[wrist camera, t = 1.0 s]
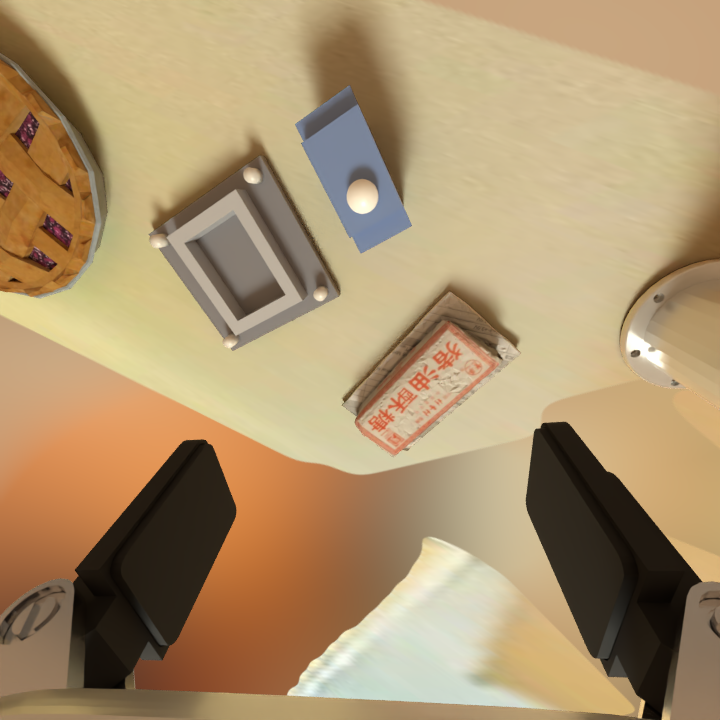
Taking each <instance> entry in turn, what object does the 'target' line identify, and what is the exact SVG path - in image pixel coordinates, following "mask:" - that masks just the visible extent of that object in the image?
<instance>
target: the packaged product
mask: <svg viewBox="0 0 720 720" xmlns="http://www.w3.org/2000/svg"><path fill="white" fill-rule="evenodd" d="M520 354H521V352H520V351H519V350H518V349H517V348H516V347H515V346H514V345H513V344H512V343H511V342H510V341H509V340H508V339H506V338H505V337H504V336H503V335H501V334H500V333H499V332H497V331H496V330H495V329H494V328H493V327H492V326H491V325H490V324H489V323H488V322H487V321H486V320H485V319H484V318H483V317H481V316H480V315H479V314H478V313H477V312H476V311H475V310H474V309H473V308H471V307H470V306H469V305H468V304H467V303H466V302H464V301H463V300H461V299H460V298H459V297H457V296H456V295H454V294H453V293H451V292H450V291H449V292H448V293H447V294H446V295H445V296H444V297H443V298H442V299H441V300H440V301H439V302H438V303H437V304H436V305H435V306H434V307H433V308H432V309H431V310H430V311H429V312H428V313H427V314H426V315H425V316H424V317H423V318H422V319H421V320H420V322H419V323H418V324H417V325H416V327H415V328H414V329H413V330H412V331H411V332H410V333H409V334H408V335H407V336H406V337H405V338H404V339H403V340H402V341H401V342H400V343H399V344H398V345H397V346H396V348H395V349H394V350H393V351H392V352H391V353H390V354H388V355H387V356H386V357H385V358H384V359H383V360H382V361H381V363H380V364H379V365H378V366H377V367H376V368H375V370H374V371H373V372H372V374H371V375H370V376H369V377H368V378H366V379H365V380H364V381H363V382H362V383H361V384H360V385H359V386H358V388H357V389H356V390H355V391H354V392H353V393H352V395H351V396H350V397H349V398H348V399H347V401H345V402H344V403H343V404H342V406H343V407H345V408H346V409H347V410H349V411H350V412H351V413H353V414H354V415H355V416H357V417H356V419H355V425H356V427H357V428H358V429H359V430H360V431H361V433H362V435H363V436H366V437H368V438H369V439H370V440H371V441H373V442H375V443H376V444H377V446H379V447H380V448H381V449H382V450H385V451H386V452H387V453H389V454H390V455H391V456H392V457H395V456H396V455H397V454H398V453H399V452H400V451H401V450H409V449H410V447H411V446H412V445H414V444H415V443H416V442H417V441H418V440H420V439H421V438H422V437H423V436H424V435H426V434H427V433H428V432H429V431H430V430H431V429H433V428H434V427H435V426H436V425H437V424H439V423H440V422H441V421H442V420H443V419H444V418H445V417H446V416H448V415H449V414H451V413H452V412H453V411H454V410H455V409H456V408H457V407H458V406H460V405H461V404H462V403H463V402H464V401H466V400H467V399H468V398H469V397H470V396H471V395H473V394H474V393H475V392H476V391H477V390H478V389H479V388H481V387H482V386H483V385H485V384H486V383H487V382H488V381H489V380H491V379H492V378H493V377H494V376H495V375H496V374H498V373H499V372H500V371H501V370H502V369H503V368H505V367H506V366H507V365H508V364H509V363H510V362H511V361H513V360H514V359H515V358H516V357H518V356H519V355H520Z"/></svg>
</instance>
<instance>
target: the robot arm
mask: <svg viewBox="0 0 720 720" xmlns="http://www.w3.org/2000/svg"><path fill="white" fill-rule="evenodd" d="M620 348H621V353H622V356H623V358H624V360H625V363H626V364H627V366H628V367H629V368H630V369H631V370H632V371H633V372H634V373H635V374H637V375H638V376H639V377H640V378H642V379H644V380H645V381H647V382H649V383H651V384H654V385H657V386H660V387H665V388H673V389H678V388H679V389H680V388H687V389H689V390H690V391H692V392H693V393H695V394H696V395H698V396H699V397H701V398H702V399H704V400H705V401H707V402H708V403H710V404H711V405H713V406H714V407H716V408H717V409H719V410H720V259H715V260H706V261H702V262H698V263H694V264H691V265H688V266H686V267H683V268H681V269H678V270H676V271H674V272H672V273H671V274H669V275H667V276H665V277H664V278H662V279H661V280H659V281H658V282H657V283H655V284H654V285H653V286H651V287H650V288H649V289H648V290H647V291H646V292H645V293H644V294H643V295H642V296H641V297H640V298H639V299H638V300H637V302H636V303H635V304H634V306H633V307H632V308H631V310H630V311H629V313H628V315H627V317H626V319H625V321H624V324H623V328H622V331H621V337H620ZM526 507H527V511H528V514H529V516H530V518H531V521H532V523H533V525H534V528H535V530H536V532H537V535H538V537H539V539H540V541H541V544H542V546H543V548H544V550H545V553H546V555H547V557H548V560H549V562H550V564H551V567H552V569H553V571H554V573H555V576H556V578H557V580H558V583H559V585H560V587H561V589H562V592H563V594H564V596H565V599H566V601H567V603H568V606H569V608H570V610H571V612H572V614H573V617H574V619H575V622H576V624H577V626H578V628H579V631H580V633H581V635H582V638H583V640H584V642H585V644H586V646H587V649H588V651H589V652H590V654H591V655H592V656H593V657H594V658H600V660H601V662H602V664H603V667H604V669H605V671H606V673H607V675H608V677H628V679H629V681H630V683H631V685H632V687H633V689H634V691H635V693H636V695H638V696H639V697H640V698H641V703H640V708H639V713H638V718H635V717H628V716H620V715H612V714H598V713H585V712H571V711H558V710H544V709H531V708H516V707H497V706H479V705H460V704H441V703H423V702H404V701H385V700H364V699H344V698H323V697H302V696H280V695H258V694H257V695H256V694H237V693H236V694H235V693H213V692H212V693H211V692H189V691H163V690H141V689H135V682H134V667H135V665H136V663H137V661H138V659H139V658H141V659H142V660H163V658H164V656H165V654H166V652H167V650H168V648H169V646H170V645H172V644H173V643H174V642H175V641H176V640H177V638H178V637H179V635H180V632H181V630H182V628H183V626H184V624H185V621H186V620H187V618H188V616H189V614H190V612H191V610H192V607H193V605H194V603H195V601H196V599H197V597H198V595H199V593H200V591H201V589H202V587H203V584H204V582H205V580H206V578H207V576H208V574H209V572H210V570H211V568H212V566H213V564H214V561H215V559H216V557H217V555H218V553H219V551H220V549H221V547H222V544H223V542H224V541H225V538H226V536H227V534H228V532H229V530H230V528H231V526H232V524H233V522H234V519H235V517H236V505H235V503H234V500H233V498H232V495H231V492H230V490H229V487H228V485H227V482H226V480H225V477H224V474H223V472H222V469H221V467H220V464H219V461H218V459H217V456H216V453H215V451H214V448H213V446H212V445H210V444H208V443H207V441H206V440H186V441H183V442H182V444H180V445H179V447H178V448H177V449H176V450H175V451H174V453H173V454H172V455H171V456H170V457H169V458H168V460H167V461H166V462H165V463H164V464H163V466H162V467H161V468H160V469H159V470H158V472H157V473H156V474H155V475H154V476H153V478H152V479H151V480H150V481H149V482H148V483H147V485H146V486H145V487H144V488H143V489H142V491H141V492H140V493H139V494H138V496H137V497H136V498H135V499H134V500H133V501H132V502H131V504H130V505H129V506H128V507H127V508H126V510H125V511H124V512H123V513H122V515H121V516H120V517H119V518H118V519H117V520H116V522H115V523H114V524H113V525H112V526H111V527H110V529H109V530H108V531H107V532H106V533H105V535H104V536H103V537H102V538H101V539H100V541H99V542H98V543H97V544H96V545H95V547H94V548H93V549H92V550H91V551H90V552H89V554H88V555H87V556H86V557H85V558H84V560H83V561H82V562H81V563H80V564H79V566H78V567H77V568H76V569H75V571H76V572H77V574H78V575H79V576H78V577H77V579H76V580H75V581H74V582H73V583H72V582H71V581H70V580H68V579H55V580H51V581H48V582H46V583H44V584H41V585H39V586H37V587H35V588H33V589H32V590H30V591H29V592H27V593H25V594H24V595H23V596H21V597H20V598H19V599H18V600H16V601H15V602H14V603H13V604H11V605H10V607H8V608H7V609H6V610H5V611H4V612H3V614H1V616H0V720H720V583H718V582H702V581H701V580H700V578H699V577H698V576H697V575H696V573H695V572H694V571H693V570H692V569H691V567H690V566H689V565H688V564H687V562H686V561H685V560H684V559H683V557H682V556H681V555H680V554H679V553H678V551H677V550H676V549H675V548H674V546H673V545H672V544H671V543H670V541H669V540H668V539H667V538H666V536H665V535H664V534H663V533H662V532H661V530H660V529H659V528H658V527H657V526H656V524H655V523H654V522H653V521H652V519H651V518H650V517H649V516H648V514H647V513H646V512H645V511H644V509H643V508H642V507H641V506H640V504H639V503H638V502H637V501H636V500H635V498H634V497H633V496H632V495H631V493H630V492H629V491H628V490H627V489H626V487H625V486H624V485H623V483H622V482H621V481H620V480H619V479H618V478H617V477H616V476H615V475H614V474H613V473H610V472H607V471H606V470H605V469H604V468H603V466H602V465H601V464H600V462H599V461H598V460H597V459H596V457H595V456H594V455H593V454H592V452H591V451H590V450H589V448H588V447H587V446H586V445H585V443H584V442H583V441H582V440H581V438H580V437H579V436H578V435H577V433H576V432H575V431H574V429H573V428H572V427H571V426H570V425H569V424H568V423H567V422H554V423H553V422H552V423H543V424H542V425H541V428H540V429H535V431H534V437H533V445H532V454H531V462H530V471H529V478H528V487H527V494H526Z"/></svg>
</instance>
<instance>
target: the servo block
mask: <svg viewBox="0 0 720 720" xmlns="http://www.w3.org/2000/svg"><path fill="white" fill-rule="evenodd" d="M295 125H296V127H297V129H298V131H299V133H300V135H301V137H302V139H303V141H304V142H302V143H301V144H302V146H303V148H304V150H305V152H306V154H307V156H308V158H309V160H310V162H311V164H312V166H313V167H314V169H315V171H316V173H317V175H318V177H319V179H320V181H321V183H322V185H323V187H324V189H325V191H326V193H327V195H328V197H329V199H330V201H331V203H332V204H333V206H334V208H335V210H336V212H337V214H338V216H339V218H340V220H341V222H342V224H343V226H344V228H345V230H346V232H347V234H348V236H349V238H351V237H353V239H354V241H355V243H356V245H357V247H358V249H359V251H360V253H363V252H365V251H367V250H369V249H370V248H372V247H374V246H376V245H378V244H380V243H381V242H383V241H385V240H387V239H389V238H391V237H392V236H394V235H396V234H398V233H400V232H402V231H403V230H405V229H407V228H409V227H411V226H412V225H411V222H410V220H409V218H408V216H407V213H406V211H405V209H404V206H403V203H402V201H401V199H400V197H399V194H398V192H397V190H396V187H395V185H394V183H393V181H392V178H391V176H390V174H389V172H388V169H387V167H386V165H385V163H384V160H383V158H382V156H381V154H380V151H379V149H378V147H377V144H376V142H375V140H374V138H373V135H372V133H371V131H370V129H369V126H368V124H367V122H366V120H365V118H364V116H363V114H362V112H361V109H360V107H359V105H358V103H357V100H356V98H355V96H354V94H353V91H352V89H351V87H350V85H349V86H348V87H346V88H345V89H343V90H342V91H341V92H339V93H338V94H336V95H335V96H334V97H332V98H331V99H329V100H328V101H327V102H325V103H324V104H323V105H321V106H320V107H318V108H317V109H316V110H314V111H313V112H311V113H310V114H309V115H307V116H306V117H304V118H303V119H302V120H300V121H299V122H297V123H296V124H295Z"/></svg>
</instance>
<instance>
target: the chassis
mask: <svg viewBox="0 0 720 720" xmlns="http://www.w3.org/2000/svg"><path fill="white" fill-rule="evenodd" d="M149 236H150V238H149V241H150V244H151V245H152V246H153V247H154V248H159V249H160V251H161V252H162V254H163V255H164V256H165V258H166V259H167V261H168V262H169V263H170V265H171V266H172V267H173V269H174V270H175V272H176V273H177V274H178V276H179V277H180V279H181V280H182V281H183V283H184V284H185V286H186V287H187V288H188V290H189V291H190V292H191V294H192V295H193V297H194V298H195V299H196V301H197V302H198V304H199V305H200V306H201V308H202V309H203V311H204V312H205V313H206V315H207V316H208V317H209V319H210V320H211V322H212V323H213V324H214V326H215V327H216V329H217V330H218V331H219V333H220V334H221V336H222V337H223V338H224V339H223V344H224V346H225V347H227V348H231V349H232V351H234V350H236V349H237V348H239V347H241V346H243V345H245V344H247V343H249V342H251V341H253V340H255V339H257V338H259V337H261V336H263V335H265V334H267V333H269V332H271V331H273V330H275V329H276V328H278V327H280V326H282V325H284V324H286V323H288V322H290V321H292V320H294V319H296V318H298V317H300V316H302V315H304V314H306V313H308V312H310V311H312V310H314V309H315V308H317V307H319V306H321V305H323V304H325V303H327V302H329V301H331V300H333V299H335V298H337V297H339V295H340V292H339V290H338V289H337V287H336V285H335V283H334V281H333V280H332V278H331V276H330V274H329V272H328V271H327V269H326V267H325V265H324V263H323V262H322V260H321V258H320V256H319V254H318V253H317V251H316V249H315V247H314V245H313V244H312V242H311V240H310V238H309V236H308V235H307V233H306V231H305V229H304V227H303V226H302V224H301V222H300V220H299V218H298V217H297V215H296V213H295V211H294V209H293V208H292V206H291V204H290V202H289V200H288V199H287V197H286V195H285V193H284V191H283V190H282V188H281V186H280V184H279V182H278V181H277V179H276V177H275V175H274V173H273V172H272V170H271V168H270V166H269V164H268V163H267V161H266V159H265V157H264V156H261V155H259V156H258V157H257V158H255V159H254V160H252V161H251V162H250V163H248V164H247V165H245V166H244V167H243V168H241V169H240V170H238V171H237V172H236V173H234V174H233V175H231V176H230V177H229V178H227V179H226V180H224V181H223V182H222V183H220V184H219V185H217V186H216V187H215V188H213V189H212V190H210V191H209V192H207V193H206V194H205V195H203V196H202V197H200V198H199V199H198V200H196V201H195V202H193V203H192V204H191V205H189V206H188V207H186V208H185V209H184V210H182V211H181V212H179V213H178V214H177V215H175V216H174V217H172V218H171V219H170V220H168V221H167V222H165V223H164V224H163V225H161V226H160V227H158V228H157V229H156V230H154V231H153V232H151V233H150V234H149Z"/></svg>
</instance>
